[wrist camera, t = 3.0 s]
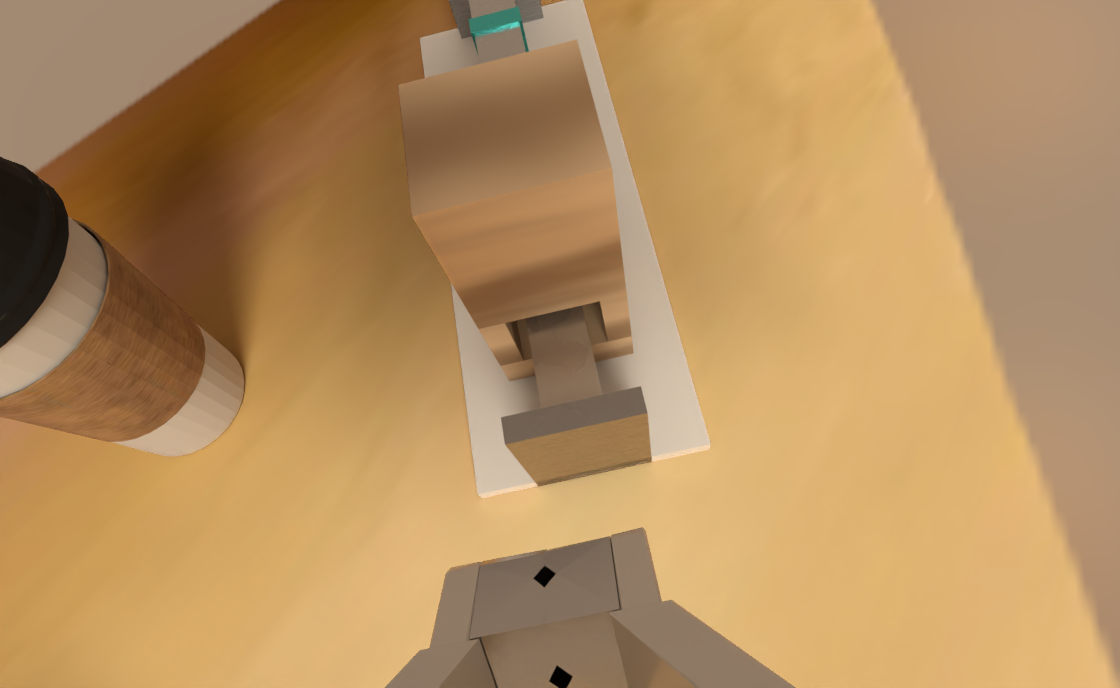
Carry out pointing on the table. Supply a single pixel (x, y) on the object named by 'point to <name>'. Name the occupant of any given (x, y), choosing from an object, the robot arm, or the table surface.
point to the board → (649, 307)
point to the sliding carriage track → (558, 330)
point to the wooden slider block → (519, 198)
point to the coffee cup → (99, 336)
